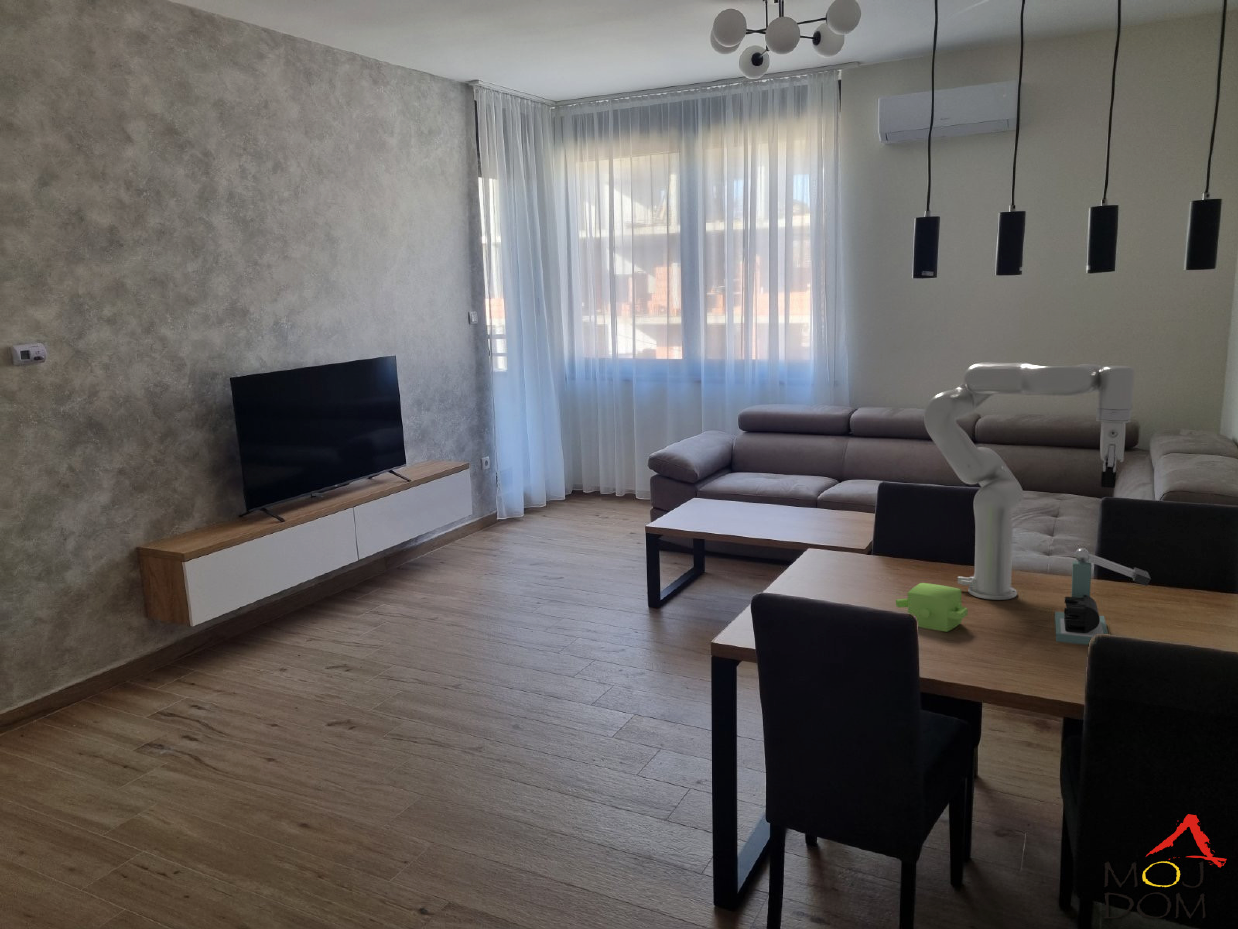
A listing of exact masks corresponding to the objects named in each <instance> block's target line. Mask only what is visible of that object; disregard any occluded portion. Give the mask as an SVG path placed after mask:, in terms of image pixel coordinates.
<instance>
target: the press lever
mask: <svg viewBox="0 0 1238 929" xmlns="http://www.w3.org/2000/svg"><path fill="white" fill-rule="evenodd" d="M1074 554H1075V559H1076V561H1079V562H1091V564H1094V565H1097V566H1100V567H1102V568H1105V569H1107V570H1110V571H1114V572H1115V573H1119V574H1122V575H1125V576H1126V577H1130V578H1132V580H1133V582H1135V583H1138V584H1140V585H1143V586H1146V587H1148V585H1149V583H1150V581H1151V576H1150V574H1149V572H1148V571H1147V570H1143V569H1141V568H1137V567H1133V568H1131V567H1127V566H1125V565H1121V564H1120V563H1116V562H1114V561H1111V560H1108V559H1106V558H1103V557H1100V556H1098V555H1095V554H1092V553H1089V550H1088V549H1087V548H1085V547H1079V548H1077V549H1076V550H1075V552H1074Z"/></svg>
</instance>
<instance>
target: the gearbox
mask: <svg viewBox="0 0 1238 929" xmlns="http://www.w3.org/2000/svg"><path fill="white" fill-rule="evenodd" d="M895 605H896V608H907V614H908V613H910V614H913V615H914V616H916V618H917V621H918V625H919V628H923V629H927V630H935V631H939V632H946V633H947V632H949V631H951V630H953V629H955V628H956V627H958V626H959V625H960V624H961V623H962V620H963V619H965V617H967V616H968V615H969V614H968V608H967V607H965V606H963V605H962V589H961V588H958V587H952V586H949V585H948V586H947V585H941V584H934V583H930V582H929V583H928V582H919V583H918V584H917V585H915V586H914V587H912V588H911V589H910V590H909V591H907V598H899V599H898V598H897V599H896V600H895Z"/></svg>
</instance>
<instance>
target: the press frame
mask: <svg viewBox="0 0 1238 929" xmlns="http://www.w3.org/2000/svg"><path fill="white" fill-rule="evenodd" d="M1071 568H1072V570H1071V596H1070V597H1077V598H1083V595H1087V596H1090V597H1091V582H1092V581H1091V580H1092V563H1091V562H1089V561H1087V562H1079V561H1078V560H1072V567H1071ZM1099 617H1100V622H1099V625H1098V626H1097V627H1096V628H1095V629H1094V630H1092V631H1090V632H1088V633H1075V632H1067V631H1065V624H1064V611H1063V612H1062V611H1054V626H1055V641H1056V642H1057V643H1065V644H1066V643H1067V644H1077V645H1078V644H1079V645H1087V646H1089V645H1088V644H1089V642H1090V640H1091V638H1092V637H1095V635H1097V634H1108V635H1109V632H1108V628H1107V624H1106V623H1107V622H1106V619H1105V616H1104V615H1099Z"/></svg>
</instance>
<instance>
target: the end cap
mask: <svg viewBox="0 0 1238 929" xmlns="http://www.w3.org/2000/svg"><path fill="white" fill-rule="evenodd" d="M1064 604H1065V607H1064V609H1063V612H1064V624H1065V631H1067V632H1075V633H1088V632H1090V631H1092V630H1094V629H1095V628H1096V627H1097V626H1098V625H1099V622H1100V617H1099V616H1100V612H1099V609H1098V605H1097V602H1096V600H1095V599H1093V597H1091V595H1090V596H1087V595H1083V598H1077V597H1071V596H1064Z"/></svg>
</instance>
